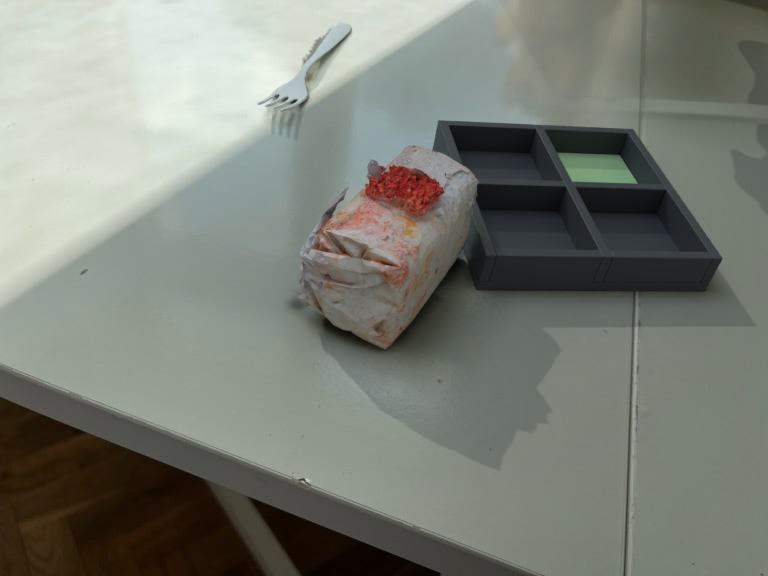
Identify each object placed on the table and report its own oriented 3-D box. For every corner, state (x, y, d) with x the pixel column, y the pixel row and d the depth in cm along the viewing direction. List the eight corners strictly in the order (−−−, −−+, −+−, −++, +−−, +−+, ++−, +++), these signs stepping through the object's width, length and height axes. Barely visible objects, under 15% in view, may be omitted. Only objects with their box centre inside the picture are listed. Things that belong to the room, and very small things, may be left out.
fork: (359, 27, 88) (361, 12, 87) (285, 128, 70) (286, 111, 69) (332, 21, 89) (334, 6, 87) (251, 120, 71) (252, 102, 69)
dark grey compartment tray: (621, 159, 74) (633, 128, 72) (705, 291, 60) (723, 258, 58) (431, 152, 70) (438, 119, 68) (476, 290, 57) (486, 255, 55)
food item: (392, 370, 50) (416, 252, 44) (285, 321, 52) (293, 201, 46) (470, 258, 60) (499, 147, 53) (377, 220, 62) (394, 109, 55)
